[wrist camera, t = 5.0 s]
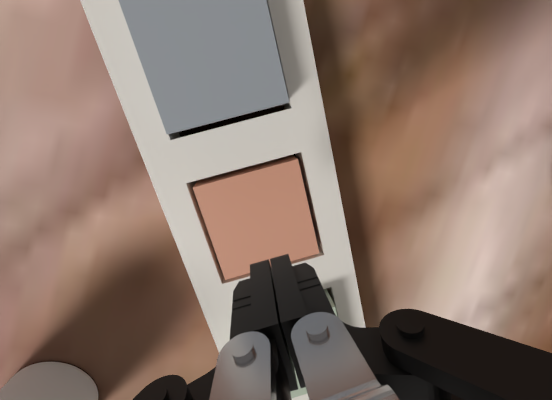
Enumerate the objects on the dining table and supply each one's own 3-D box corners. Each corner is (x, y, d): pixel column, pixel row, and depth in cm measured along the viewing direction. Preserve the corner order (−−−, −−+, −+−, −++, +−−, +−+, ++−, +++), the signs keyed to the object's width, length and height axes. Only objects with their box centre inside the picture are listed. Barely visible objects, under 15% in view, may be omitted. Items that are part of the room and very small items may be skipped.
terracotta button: (292, 154, 18) (297, 159, 16) (311, 239, 19) (319, 253, 17) (198, 180, 17) (192, 187, 16) (226, 264, 19) (225, 279, 17)
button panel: (274, -80, 15) (280, -119, 12) (362, 357, 24) (376, 384, 21) (85, -35, 14) (54, -66, 12) (246, 392, 23) (247, 423, 21)
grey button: (254, -23, 14) (256, -46, 12) (283, 104, 15) (289, 102, 14) (132, 7, 13) (114, -12, 12) (176, 132, 15) (166, 134, 13)
